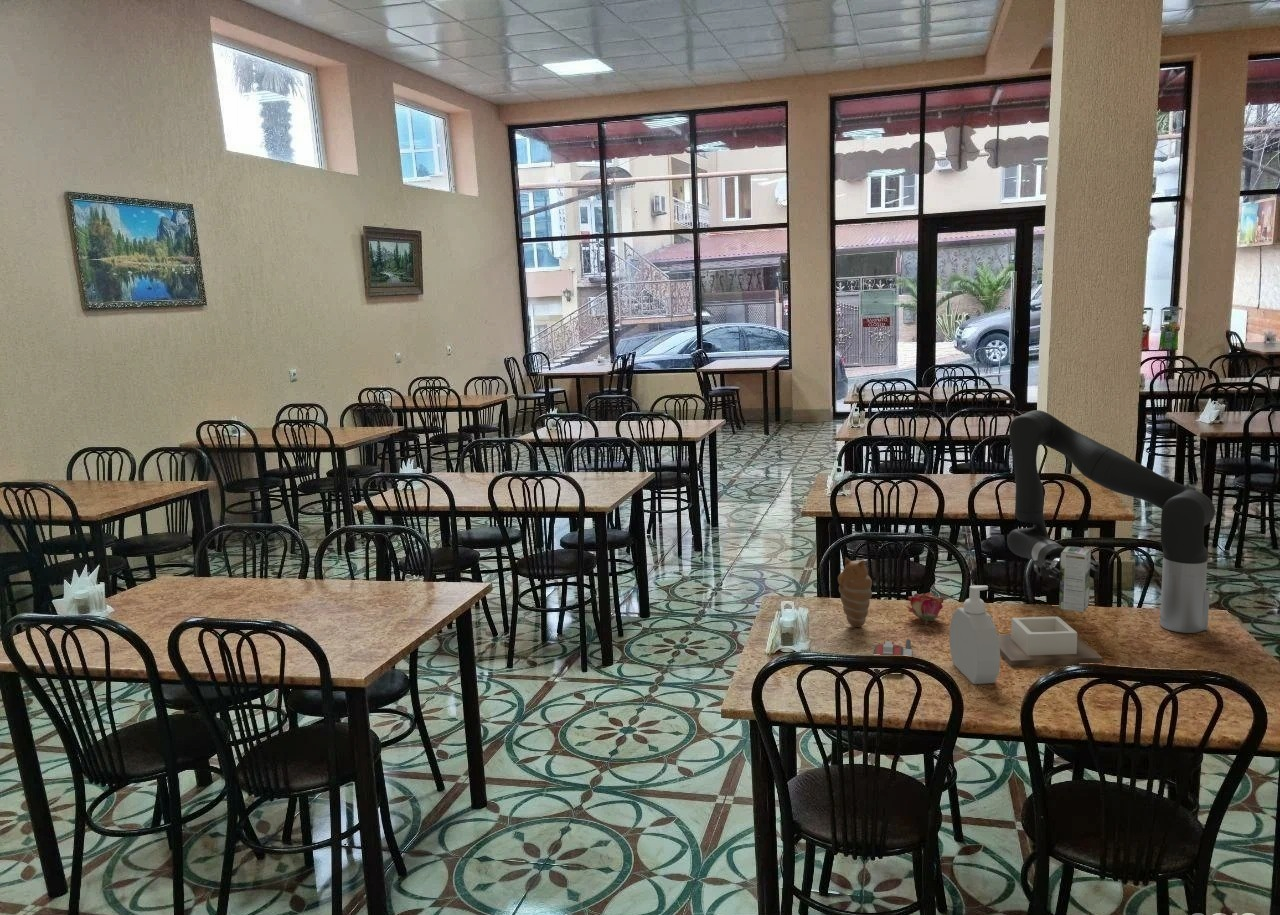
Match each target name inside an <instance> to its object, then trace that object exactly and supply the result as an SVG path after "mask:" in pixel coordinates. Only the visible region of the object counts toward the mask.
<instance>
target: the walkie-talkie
mask: <svg viewBox="0 0 1280 915" xmlns="http://www.w3.org/2000/svg"><path fill="white" fill-rule="evenodd" d="M911 641H912V640H911V639H909V638H907V639H906V640H905V643H906V644H905V648H904V647H903V646H901V645H899V644H894V641H887V640H884V641H883V644H882V643H878V644H876V645H874V648H873V654H880V655H908V656H913V657H914V649H913V648H911V647H912V645H911ZM873 654H872V655H873ZM874 671H875V672H876V673H875V674H879V672H880V670H878V669H874ZM894 675H895V676H896V675H898V676H900V675H901V674H893V676H894Z"/></svg>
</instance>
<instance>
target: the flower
mask: <svg viewBox="0 0 1280 915" xmlns="http://www.w3.org/2000/svg"><path fill="white" fill-rule="evenodd" d="M907 598H908V601H909V604H910V605H911V606H910V605H906V608H907V609H908V612H910V613H912V614H913V615H915V616H916V617H917V618H918V619H920V620H924V625H925V626H928V625H929V622H932V621H937V619H939V618H940V617H942V615H940V616H939V613H940V612H941V610H942V609H943V607H944V606H943V603H944V597H943V596H940V597H937V596H935V595H934V594H933V593H932V592H931V591H929V592H927V593H924V592H923V593H919V594H918V593H915V594H913V595H911V596H910V595H908V596H907Z"/></svg>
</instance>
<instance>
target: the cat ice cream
mask: <svg viewBox="0 0 1280 915" xmlns="http://www.w3.org/2000/svg"><path fill="white" fill-rule="evenodd" d="M844 563H845V566H844V569H842V571H841V572H840V573H839V574H838V576H837V582H838V584H839V585H838V593H839V594H840V601H841V604H842V609H843V612H844V614H845V615H846V616H845V617H846V620H847V622H848V624H849V625H850V626H852V627H853V626H854V627H853V628H861V627H863V626H864V625H865V623H866V619H867V617H868V613H869V607H870V604H871V603H870V602H871V598H872V595H873V592H872V590H871V588H872V585H873V580H872V578H871V577H870V575H869V574H868V573H869V572H868V568H867V566H866V565H865V563H866V562H865V560H864V559H862V560H851V559H849V558H848V557H845V559H844Z"/></svg>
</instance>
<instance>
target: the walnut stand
mask: <svg viewBox="0 0 1280 915" xmlns="http://www.w3.org/2000/svg"><path fill="white" fill-rule="evenodd" d="M997 635H998V639H999V645H1000V657H1002V659H1004V661H1005V662H1006V663H1007V665H1009V667H1013V668H1015V667H1017V668H1018V667H1020V668H1021V667H1048V666H1049V667H1051V666H1073V665H1072V664H1079V663H1102V664H1103V657H1102V656H1101V655H1100V654H1099V653H1098V652H1096V650H1095V649H1093V648H1092V647H1091V646H1089V644H1087V643H1086V642H1085V641H1084V640H1082V639H1081V637H1079V635H1077V654H1059V655H1027V654H1026V653H1025V652H1024V651H1023V650H1022V649H1021V648H1020V647H1019V646H1018V645H1017V644H1016V643H1015V642H1014V641H1013V640H1012V639H1011V633H1004V634H1003V633H1000V634H998V633H997Z"/></svg>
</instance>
